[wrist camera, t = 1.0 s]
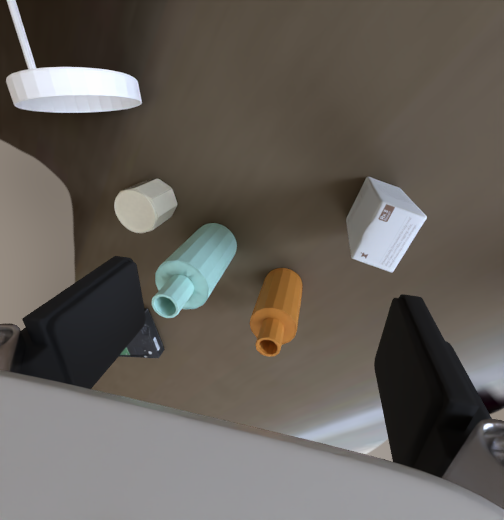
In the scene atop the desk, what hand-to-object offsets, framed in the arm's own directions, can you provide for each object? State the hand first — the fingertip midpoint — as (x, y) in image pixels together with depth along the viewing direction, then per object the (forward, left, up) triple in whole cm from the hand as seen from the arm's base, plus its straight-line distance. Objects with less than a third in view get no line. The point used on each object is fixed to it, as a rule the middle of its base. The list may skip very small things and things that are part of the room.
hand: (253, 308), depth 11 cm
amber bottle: (+17, -6, -29) cm, 34 cm away
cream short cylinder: (+1, -22, -29) cm, 37 cm away
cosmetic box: (+6, +7, -30) cm, 31 cm away
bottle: (+9, -15, -29) cm, 34 cm away
